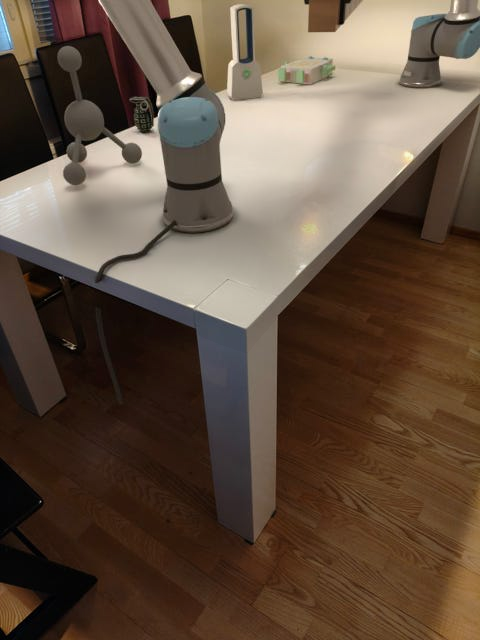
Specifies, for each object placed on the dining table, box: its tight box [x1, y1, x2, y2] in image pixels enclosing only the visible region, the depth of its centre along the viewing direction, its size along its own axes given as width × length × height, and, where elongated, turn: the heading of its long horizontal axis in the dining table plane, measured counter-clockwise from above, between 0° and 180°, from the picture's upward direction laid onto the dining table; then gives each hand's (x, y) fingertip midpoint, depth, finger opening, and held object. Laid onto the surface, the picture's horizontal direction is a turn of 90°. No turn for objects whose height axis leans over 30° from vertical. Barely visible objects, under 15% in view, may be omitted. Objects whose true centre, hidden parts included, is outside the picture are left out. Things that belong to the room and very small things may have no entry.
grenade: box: [128, 96, 155, 133], centre depth 156 cm, size 7×6×10 cm
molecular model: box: [57, 45, 143, 186], centre depth 125 cm, size 24×22×30 cm
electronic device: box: [226, 3, 264, 101], centre depth 179 cm, size 12×8×30 cm, turn 105°
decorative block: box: [277, 55, 336, 85], centre depth 206 cm, size 26×6×20 cm
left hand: (326, 23), depth 96 cm, fingers closed on post, 5 cm apart
